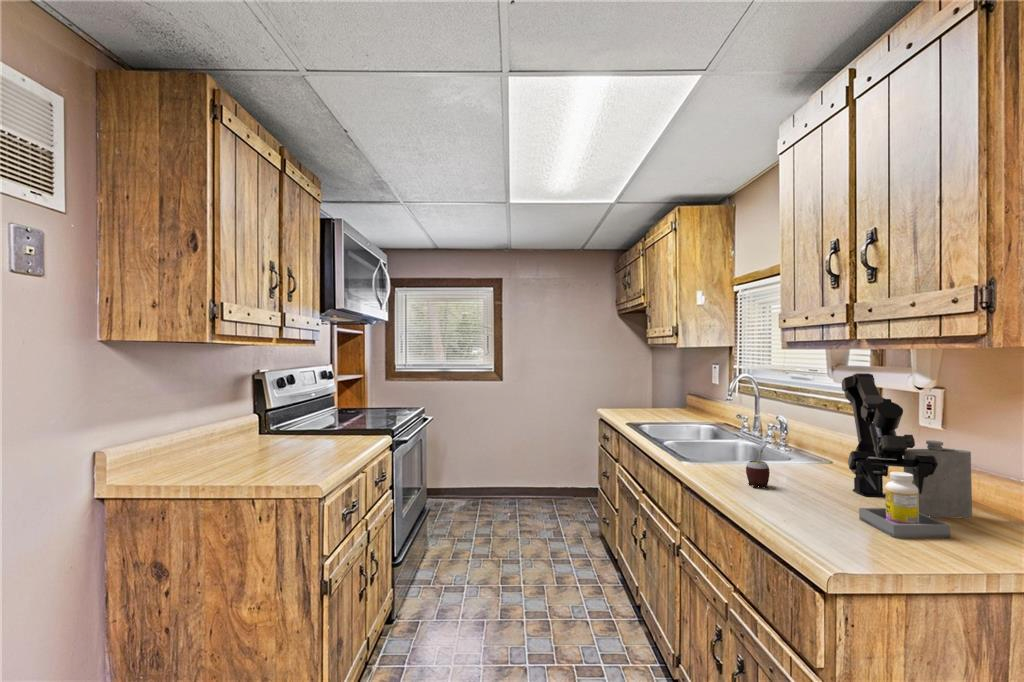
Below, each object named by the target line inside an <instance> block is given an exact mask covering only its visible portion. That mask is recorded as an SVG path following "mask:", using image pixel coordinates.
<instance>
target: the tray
mask: <svg viewBox="0 0 1024 682" xmlns="http://www.w3.org/2000/svg"><path fill="white" fill-rule="evenodd" d="M858 515H859V517H858V519H859V521H862V522H863V523H865V524H867V525H869V526H870V527H873V528H875V529H876V530H878V531H880V532H883V533H885V534H886V535H888V536H889V537H891V538H893V539H903V538H904V539H951V525H950V524H947V523H945V522H943V521H941V520H938V519H936V518H935V517H929V516H927V515H925V514H922V513H920V512H919V524H894V523H892V522H890V521H888V520H886V507H859V508H858Z"/></svg>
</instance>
